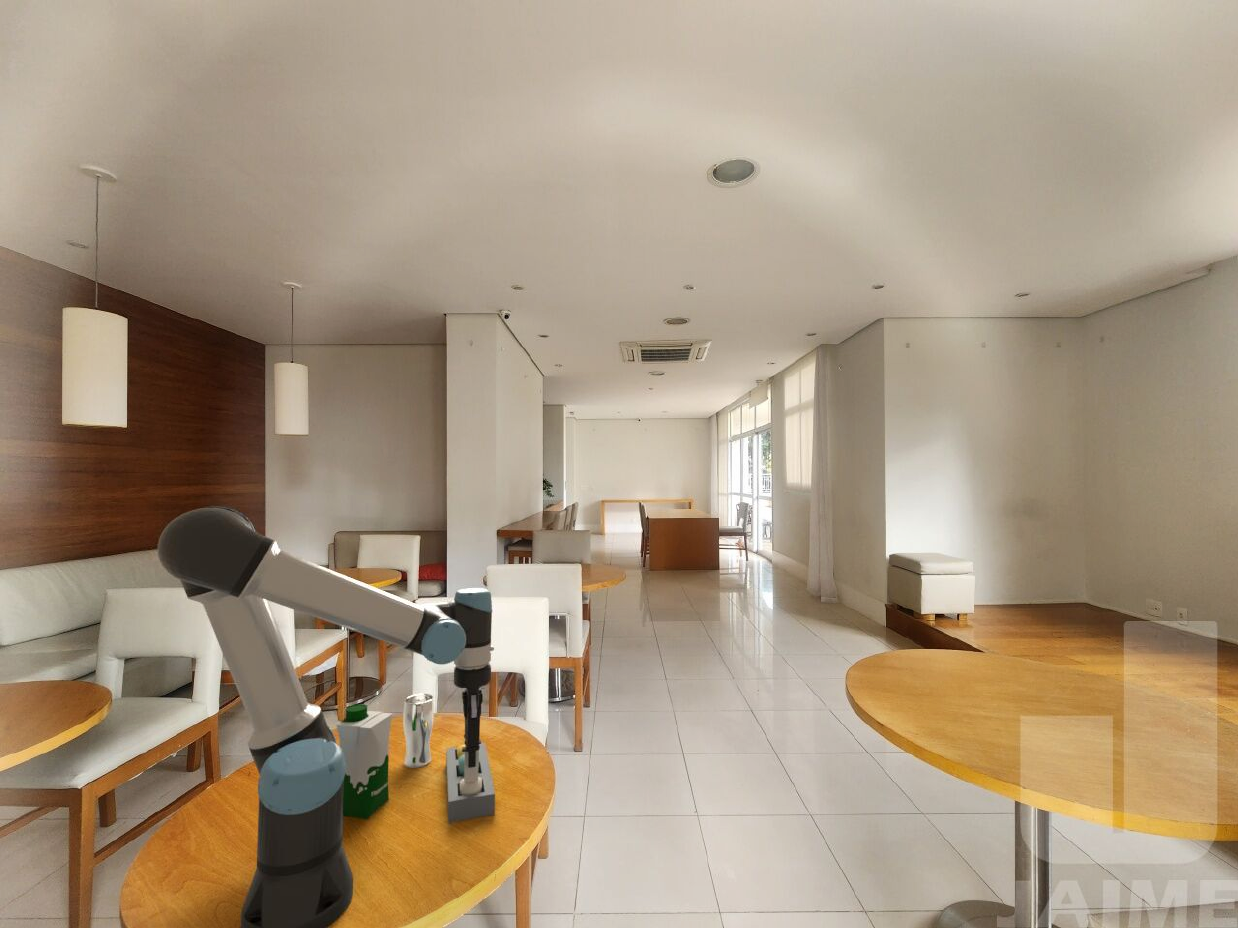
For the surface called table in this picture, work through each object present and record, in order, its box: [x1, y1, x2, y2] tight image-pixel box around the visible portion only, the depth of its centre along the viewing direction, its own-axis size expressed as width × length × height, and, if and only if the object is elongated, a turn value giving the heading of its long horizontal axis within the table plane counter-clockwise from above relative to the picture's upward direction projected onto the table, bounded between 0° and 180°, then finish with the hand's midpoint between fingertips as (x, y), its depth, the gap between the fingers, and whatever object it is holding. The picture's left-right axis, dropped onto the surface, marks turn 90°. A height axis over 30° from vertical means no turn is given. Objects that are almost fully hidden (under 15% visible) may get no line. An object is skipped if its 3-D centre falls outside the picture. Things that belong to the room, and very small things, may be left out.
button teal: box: [458, 754, 479, 776], centre depth 121 cm, size 4×4×3 cm
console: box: [445, 742, 496, 824], centre depth 120 cm, size 24×9×4 cm, turn 18°
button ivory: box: [460, 777, 482, 796], centre depth 113 cm, size 4×4×3 cm
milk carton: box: [336, 703, 394, 820], centre depth 113 cm, size 9×9×20 cm
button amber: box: [457, 743, 466, 759], centre depth 128 cm, size 4×4×3 cm
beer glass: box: [402, 693, 435, 769], centre depth 132 cm, size 7×7×15 cm
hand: (471, 779), depth 113 cm, fingers closed
